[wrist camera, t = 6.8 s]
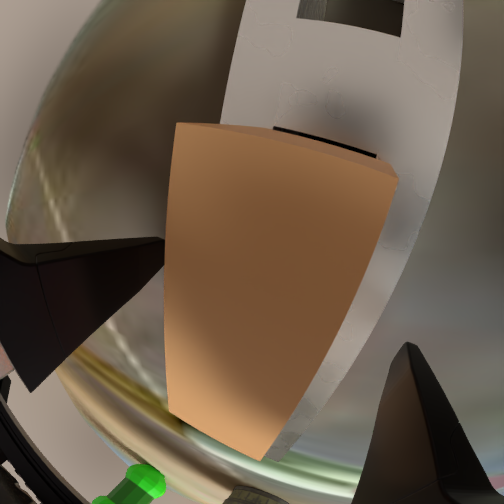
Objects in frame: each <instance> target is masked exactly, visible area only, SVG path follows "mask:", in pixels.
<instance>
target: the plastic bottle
mask: <svg viewBox="0 0 504 504" xmlns="http://www.w3.org/2000/svg"><path fill="white" fill-rule="evenodd" d="M164 478H165V477H164V476H163V475H162V474H161V473H160V472H159V471H157V470H156V469H155V468H153V467H152V466H150V465H148V464H146V465H144V464H135V465H132V466H130V467H129V468H128V469H127V472H126V477H125V478H124V479H123V480H122V481H121V482H120V484H118V486H116V487H115V489H113V490H112V491H111V492H110V493H109V494H108V495H107V496H99V497H97V498H96V499H94V500H93V502H92V504H150V503H151V501H152V500H153V499H155V498H158V497H160V496H162V495H163V494H164V493H165V491H166V483H165V479H164Z"/></svg>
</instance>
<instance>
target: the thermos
mask: <svg viewBox="0 0 504 504" xmlns="http://www.w3.org/2000/svg"><path fill="white" fill-rule="evenodd" d="M223 504H289V503H287V502H286V501H284V500H282V499H281V498H278V497H276V496H274V495H272V494H269V493H266V492H264V491H261V490H257V489H254V488H250V487H246V486H236V487H235V488H234V490H233V492H232V493H231V495H230V496H229V498H227V499H225V501H224V502H223Z"/></svg>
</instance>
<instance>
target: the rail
mask: <svg viewBox="0 0 504 504" xmlns="http://www.w3.org/2000/svg"><path fill="white" fill-rule="evenodd" d="M392 1H396V2H400V3H403V4H404V12H403V22H402V31H401V38H399V37H396V36H392V35H389V34H385V33H381V32H377V31H373V30H369V29H365V28H360V27H355V26H350V25H344V24H339V23H332V22H325V21H324V16H325V11H326V6H327V0H246V3H245V7H244V11H243V15H242V19H241V23H240V27H239V32H238V36H237V40H236V45H235V49H234V54H233V58H232V63H231V68H230V73H229V78H228V83H227V88H226V93H225V98H224V103H223V109H222V114H221V120H220V124H228V125H241V126H252V127H262V128H267V129H272V130H276V131H281V132H285V133H289V134H293V135H298V136H300V132H303V133H307V134H310V135H314V136H318V137H322V138H325V139H329V140H332V141H336V142H339V143H343V144H346V145H349V146H352V147H356V148H359V149H362V150H365V151H368V152H371V153H374V154H377V157H376V159H378V160H381V161H384V162H386V163H389V164H391V166H392V168H393V169H394V171H395V173H396V174H397V176H398V178H399V180H398V183H397V187H396V190H395V193H394V196H393V199H392V202H391V205H390V208H389V211H388V214H387V217H386V220H385V223H384V226H383V228H382V231H381V234H380V237H379V239H378V242H377V245H376V247H375V250H374V252H373V255H372V257H371V260H370V262H369V265H368V267H367V270H366V272H365V274H364V277H363V279H362V282H361V284H360V286H359V288H358V291H357V293H356V295H355V297H354V300H353V302H352V304H351V306H350V308H349V310H348V313H347V315H346V317H345V319H344V321H343V323H342V325H341V327H340V329H339V331H338V333H337V335H336V337H335V339H334V341H333V343H332V345H331V347H330V349H329V351H328V353H327V355H326V356H325V358H324V360H323V362H322V364H321V366H320V367H319V369H318V371H317V373H316V375H315V376H314V378H313V380H312V382H311V383H310V385H309V387H308V389H307V390H306V392H305V394H304V395H303V397H302V399H301V400H300V402H299V404H298V405H297V407H296V408H295V410H294V412H293V413H292V415H291V416H290V418H289V420H288V421H287V423H286V424H285V426H284V427H283V429H282V430H281V432H280V433H279V435H278V436H277V438H276V439H275V441H274V442H273V444H272V445H271V446H270V448H269V449H268V451H267V452H266V454H265V455H264V456H265V457H268V458H270V459H272V460H275V461H277V462H279V461H280V459H281V458H282V457H283V456H284V455H285V454H286V453H287V451H288V450H289V449H290V448H291V447H292V446H293V444H294V443H295V442H296V441H297V440H298V438H299V437H300V436H301V435H302V433H303V432H304V431H305V430H306V428H307V427H308V426H309V425H310V423H311V422H312V421H313V420H314V418H315V417H316V416H317V414H318V413H319V412H320V410H321V409H322V408H323V406H324V405H325V403H326V402H327V401H328V399H329V398H330V396H331V395H332V394H333V392H334V391H335V389H336V388H337V386H338V385H339V383H340V382H341V380H342V379H343V377H344V376H345V374H346V373H347V371H348V370H349V368H350V367H351V365H352V364H353V362H354V360H355V359H356V357H357V355H358V354H359V352H360V351H361V349H362V347H363V346H364V344H365V342H366V340H367V339H368V337H369V335H370V334H371V332H372V330H373V328H374V326H375V325H376V323H377V321H378V319H379V317H380V315H381V314H382V312H383V310H384V308H385V306H386V304H387V302H388V300H389V298H390V296H391V294H392V292H393V290H394V288H395V286H396V284H397V282H398V280H399V278H400V275H401V273H402V271H403V269H404V267H405V264H406V262H407V260H408V258H409V255H410V253H411V251H412V248H413V246H414V243H415V241H416V239H417V236H418V234H419V231H420V228H421V226H422V223H423V220H424V218H425V215H426V212H427V209H428V207H429V204H430V201H431V198H432V195H433V192H434V189H435V185H436V182H437V179H438V176H439V172H440V169H441V165H442V162H443V158H444V154H445V150H446V146H447V142H448V138H449V134H450V129H451V125H452V120H453V115H454V109H455V104H456V98H457V91H458V85H459V77H460V68H461V58H462V44H463V0H392Z"/></svg>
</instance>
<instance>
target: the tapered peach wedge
mask: <svg viewBox="0 0 504 504" xmlns="http://www.w3.org/2000/svg"><path fill="white" fill-rule="evenodd" d="M398 180H399V178H398V176H397V174H396V173H395V171H394V169H393V168H392V166H391V164H389V163H386V162H384V161H381V160H378V159H375V158H372V157H369V156H366V155H363V154H360V153H357V152H354V151H351V150H348V149H345V148H341V147H338V146H335V145H331V144H328V143H324V142H320V141H317V140H313V139H309V138H305V137H302V136H298V135H293V134H289V133H285V132H281V131H276V130H272V129H267V128H262V127H252V126H241V125H228V124H212V123H180V122H177V123H176V130H175V137H174V145H173V153H172V162H171V171H170V181H169V193H168V205H167V219H166V237H165V262H164V336H165V361H166V378H167V391H168V403H169V412H171V413H172V414H174V415H176V416H177V417H179V418H180V419H182V420H183V421H185V422H187V423H188V424H190V425H191V426H193V427H195V428H197V429H198V430H200V431H202V432H203V433H205V434H207V435H209V436H210V437H212V438H214V439H216V440H218V441H220V442H221V443H223V444H225V445H227V446H229V447H231V448H233V449H235V450H237V451H239V452H241V453H243V454H245V455H247V456H249V457H252V458H254V459H256V460H258V461H260V460H261V459H262V458H263V456H264V455H265V454H266V452H267V451H268V449H269V448H270V446H271V445H272V444H273V442H274V441H275V439H276V438H277V436H278V435H279V433H280V432H281V430H282V429H283V427H284V426H285V424H286V423H287V421H288V420H289V418H290V416H291V415H292V413H293V412H294V410H295V408H296V407H297V405H298V404H299V402H300V400H301V399H302V397H303V395H304V394H305V392H306V390H307V389H308V387H309V385H310V383H311V382H312V380H313V378H314V376H315V375H316V373H317V371H318V369H319V367H320V366H321V364H322V362H323V360H324V358H325V356H326V355H327V353H328V351H329V349H330V347H331V345H332V343H333V341H334V339H335V337H336V335H337V333H338V331H339V329H340V327H341V325H342V323H343V321H344V319H345V317H346V315H347V313H348V310H349V308H350V306H351V304H352V302H353V300H354V297H355V295H356V293H357V291H358V288H359V286H360V284H361V282H362V279H363V277H364V274H365V272H366V270H367V267H368V265H369V262H370V260H371V257H372V255H373V252H374V250H375V247H376V245H377V242H378V239H379V237H380V234H381V231H382V228H383V226H384V223H385V220H386V217H387V214H388V211H389V208H390V205H391V202H392V199H393V196H394V193H395V190H396V187H397V183H398Z"/></svg>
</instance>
